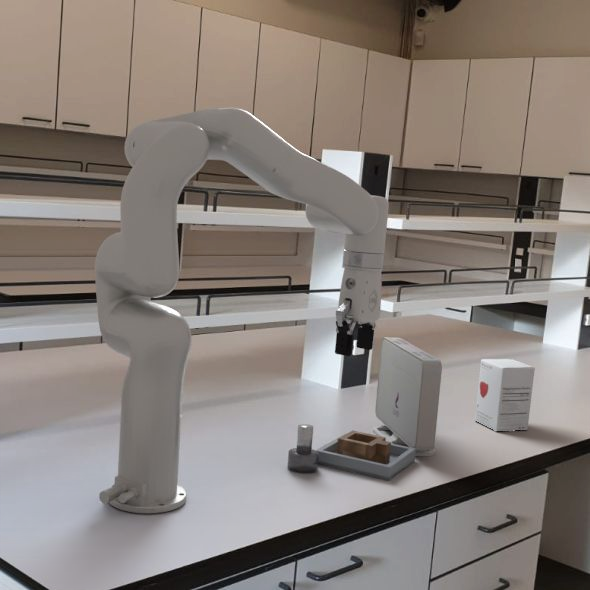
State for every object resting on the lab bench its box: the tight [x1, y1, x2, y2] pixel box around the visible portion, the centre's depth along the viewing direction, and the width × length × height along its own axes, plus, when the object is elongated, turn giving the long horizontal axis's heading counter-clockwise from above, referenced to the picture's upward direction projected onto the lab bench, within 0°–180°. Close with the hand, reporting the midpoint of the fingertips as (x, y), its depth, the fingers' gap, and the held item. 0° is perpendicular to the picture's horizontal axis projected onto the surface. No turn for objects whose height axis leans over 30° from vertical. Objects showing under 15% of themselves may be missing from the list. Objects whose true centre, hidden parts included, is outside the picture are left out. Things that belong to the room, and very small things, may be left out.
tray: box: [314, 433, 417, 481], centre depth 166 cm, size 14×15×2 cm
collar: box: [337, 430, 391, 465], centre depth 166 cm, size 9×7×4 cm
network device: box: [372, 336, 443, 457], centre depth 181 cm, size 26×9×20 cm, turn 13°
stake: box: [287, 423, 319, 474], centre depth 160 cm, size 6×6×8 cm
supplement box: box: [474, 358, 536, 432], centre depth 199 cm, size 9×9×15 cm
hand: (353, 351), depth 163 cm, fingers open, 9 cm apart
